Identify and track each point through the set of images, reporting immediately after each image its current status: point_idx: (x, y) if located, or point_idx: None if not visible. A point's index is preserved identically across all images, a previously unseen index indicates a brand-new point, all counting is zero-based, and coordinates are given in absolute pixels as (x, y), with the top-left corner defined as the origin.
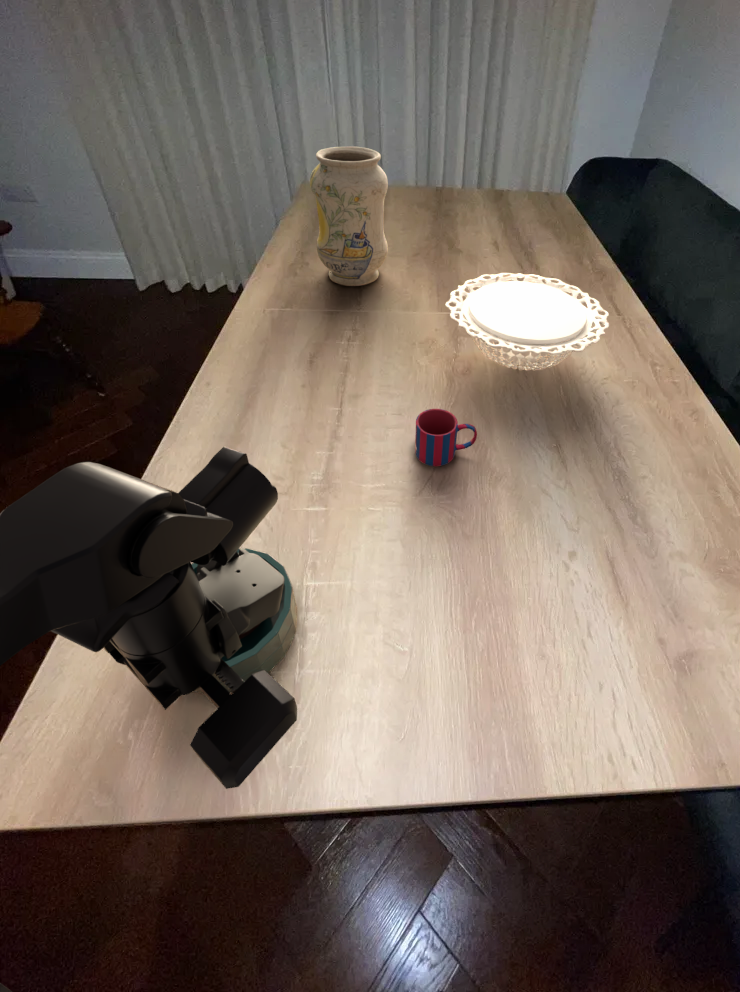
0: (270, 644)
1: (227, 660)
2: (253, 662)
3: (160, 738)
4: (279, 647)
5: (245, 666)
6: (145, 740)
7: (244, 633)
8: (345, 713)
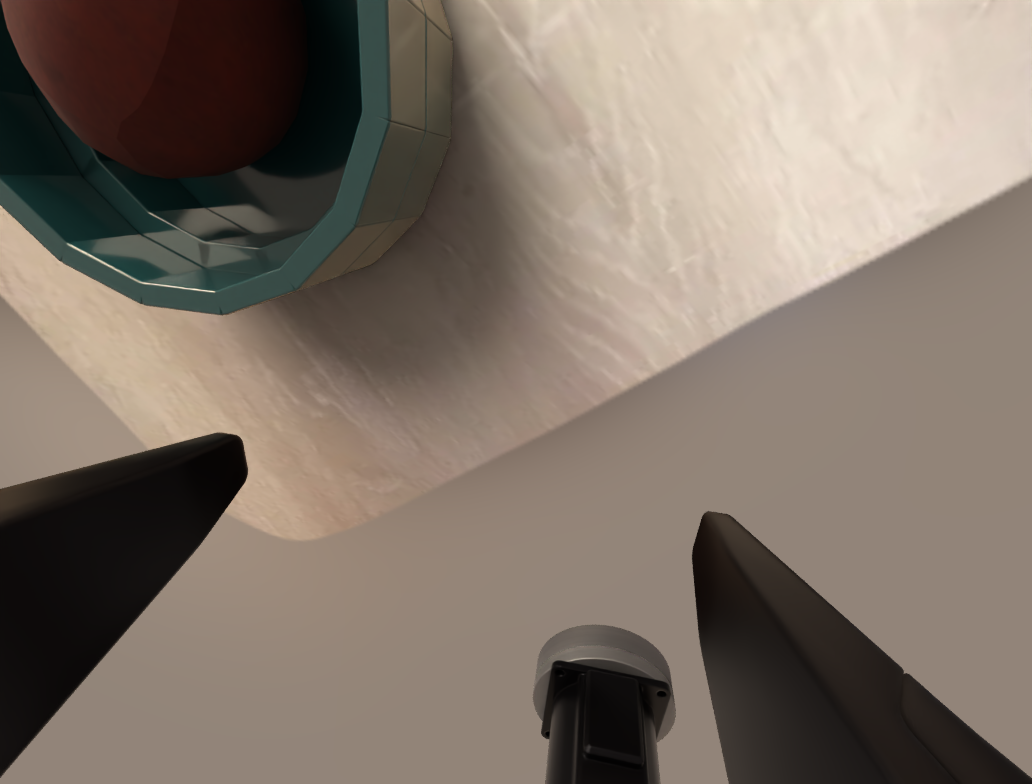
0: (400, 46)
1: (330, 166)
2: (403, 143)
3: (371, 376)
4: (426, 28)
5: (393, 172)
6: (351, 392)
7: (291, 75)
8: (745, 60)
